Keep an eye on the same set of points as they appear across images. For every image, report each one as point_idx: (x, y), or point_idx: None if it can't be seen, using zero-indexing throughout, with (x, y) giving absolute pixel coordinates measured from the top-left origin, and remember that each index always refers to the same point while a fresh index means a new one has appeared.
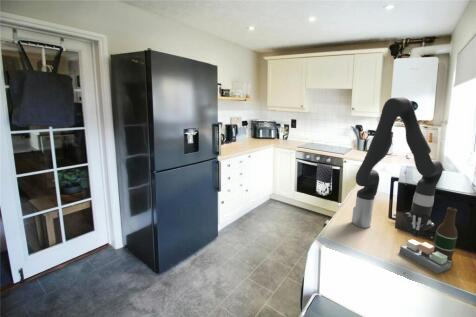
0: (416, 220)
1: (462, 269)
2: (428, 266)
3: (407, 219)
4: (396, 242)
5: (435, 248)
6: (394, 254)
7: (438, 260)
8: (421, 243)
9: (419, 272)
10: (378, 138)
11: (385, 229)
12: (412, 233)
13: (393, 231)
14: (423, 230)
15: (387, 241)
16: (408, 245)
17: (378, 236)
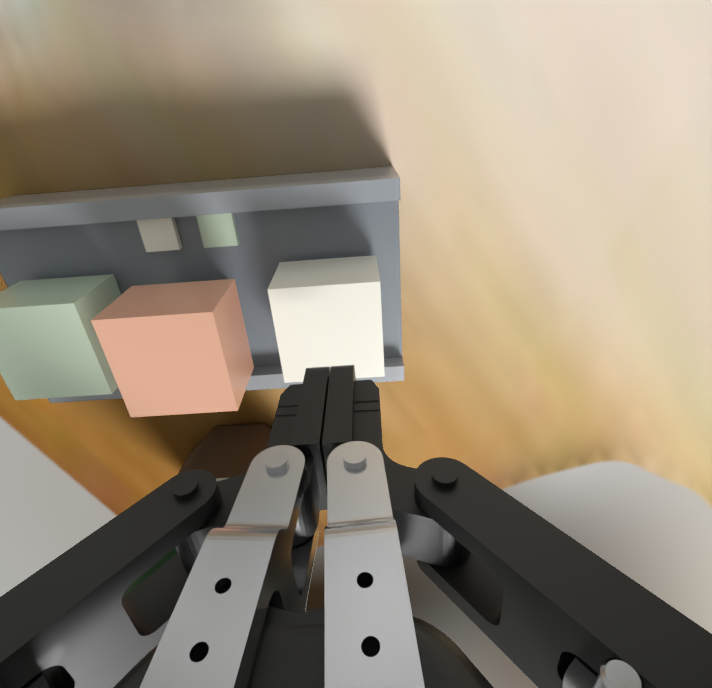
0: (321, 662)
1: (70, 428)
2: (88, 191)
3: (567, 556)
4: (519, 302)
5: (250, 460)
6: (381, 53)
7: (28, 290)
8: (215, 336)
9: (27, 3)
10: None
11: (704, 403)
12: (367, 384)
13: (637, 434)
14: (153, 492)
15: (582, 231)
16: (356, 263)
17: (696, 224)
